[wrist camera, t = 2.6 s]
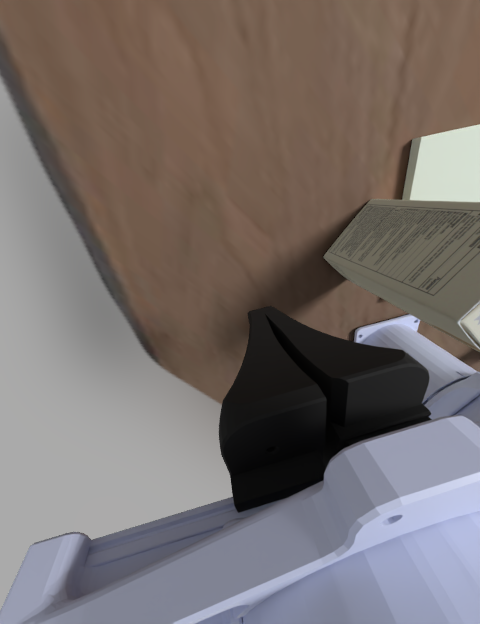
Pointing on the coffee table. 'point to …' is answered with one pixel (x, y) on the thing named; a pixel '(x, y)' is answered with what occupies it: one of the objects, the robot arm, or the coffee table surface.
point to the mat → (445, 167)
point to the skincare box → (418, 260)
